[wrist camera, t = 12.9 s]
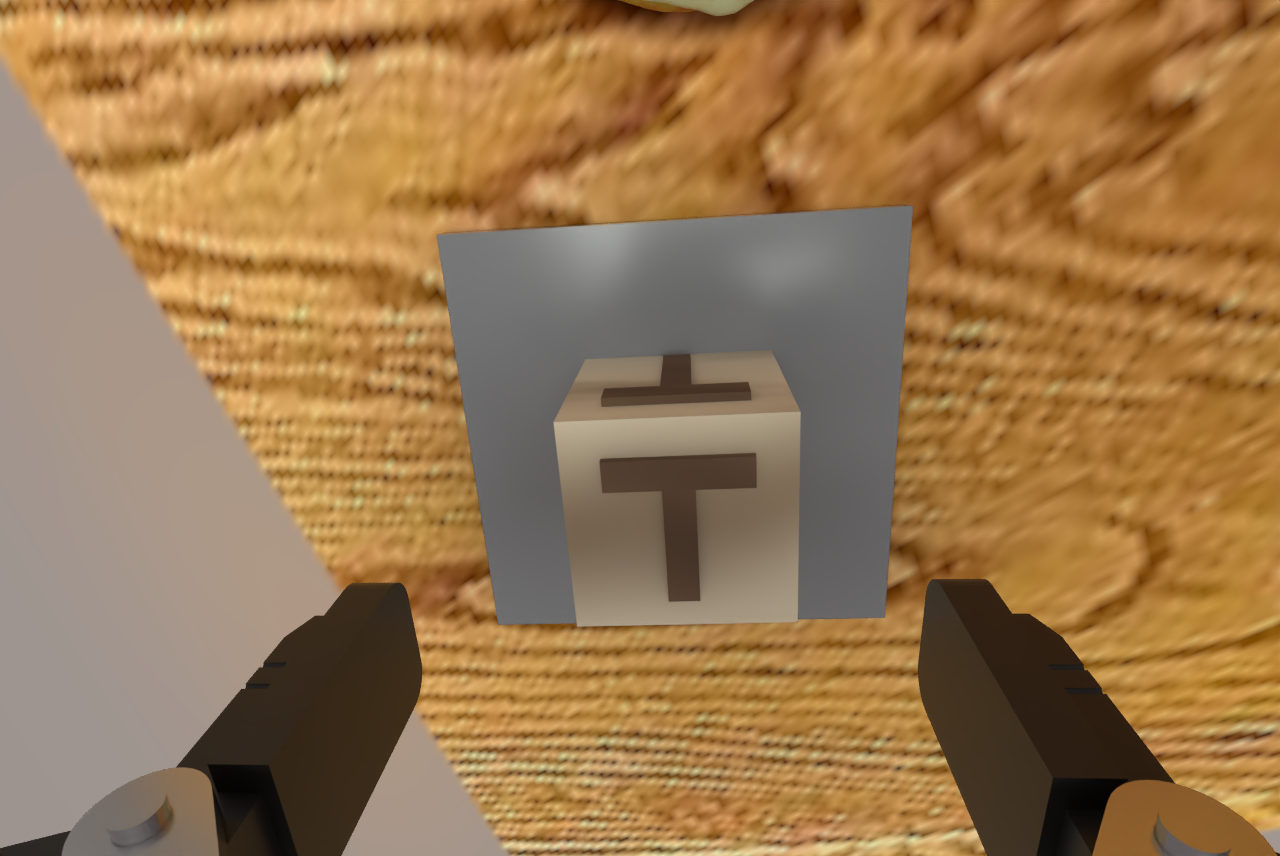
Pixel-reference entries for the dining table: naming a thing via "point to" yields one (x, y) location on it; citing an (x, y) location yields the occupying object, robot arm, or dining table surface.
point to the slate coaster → (686, 324)
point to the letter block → (681, 490)
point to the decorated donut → (693, 5)
